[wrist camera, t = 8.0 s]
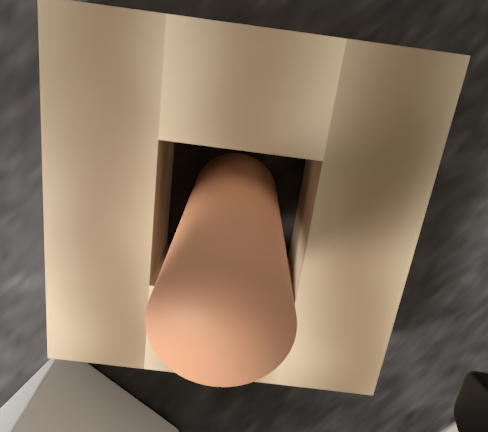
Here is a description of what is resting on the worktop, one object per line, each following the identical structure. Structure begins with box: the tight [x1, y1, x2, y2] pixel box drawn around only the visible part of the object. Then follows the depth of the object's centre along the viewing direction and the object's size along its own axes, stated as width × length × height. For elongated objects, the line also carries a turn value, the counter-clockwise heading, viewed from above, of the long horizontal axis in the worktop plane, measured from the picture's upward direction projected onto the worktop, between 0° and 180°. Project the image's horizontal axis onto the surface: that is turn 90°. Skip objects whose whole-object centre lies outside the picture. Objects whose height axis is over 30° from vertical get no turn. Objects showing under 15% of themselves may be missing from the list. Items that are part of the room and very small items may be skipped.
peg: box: [145, 153, 297, 387], centre depth 14 cm, size 3×3×9 cm
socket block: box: [37, 0, 471, 395], centre depth 17 cm, size 12×12×4 cm
